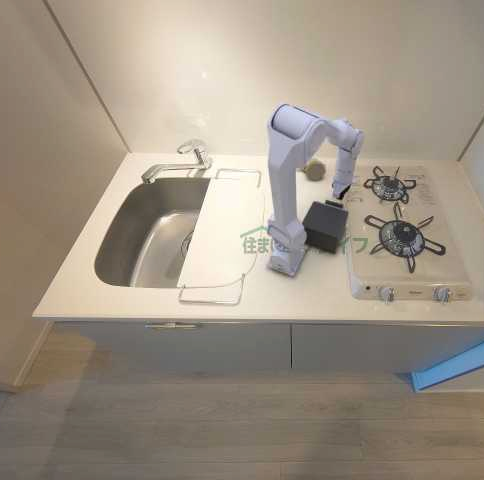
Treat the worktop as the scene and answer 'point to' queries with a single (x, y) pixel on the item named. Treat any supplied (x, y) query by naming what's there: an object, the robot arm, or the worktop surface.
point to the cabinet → (324, 226)
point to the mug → (314, 169)
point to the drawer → (333, 204)
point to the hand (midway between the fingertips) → (339, 198)
